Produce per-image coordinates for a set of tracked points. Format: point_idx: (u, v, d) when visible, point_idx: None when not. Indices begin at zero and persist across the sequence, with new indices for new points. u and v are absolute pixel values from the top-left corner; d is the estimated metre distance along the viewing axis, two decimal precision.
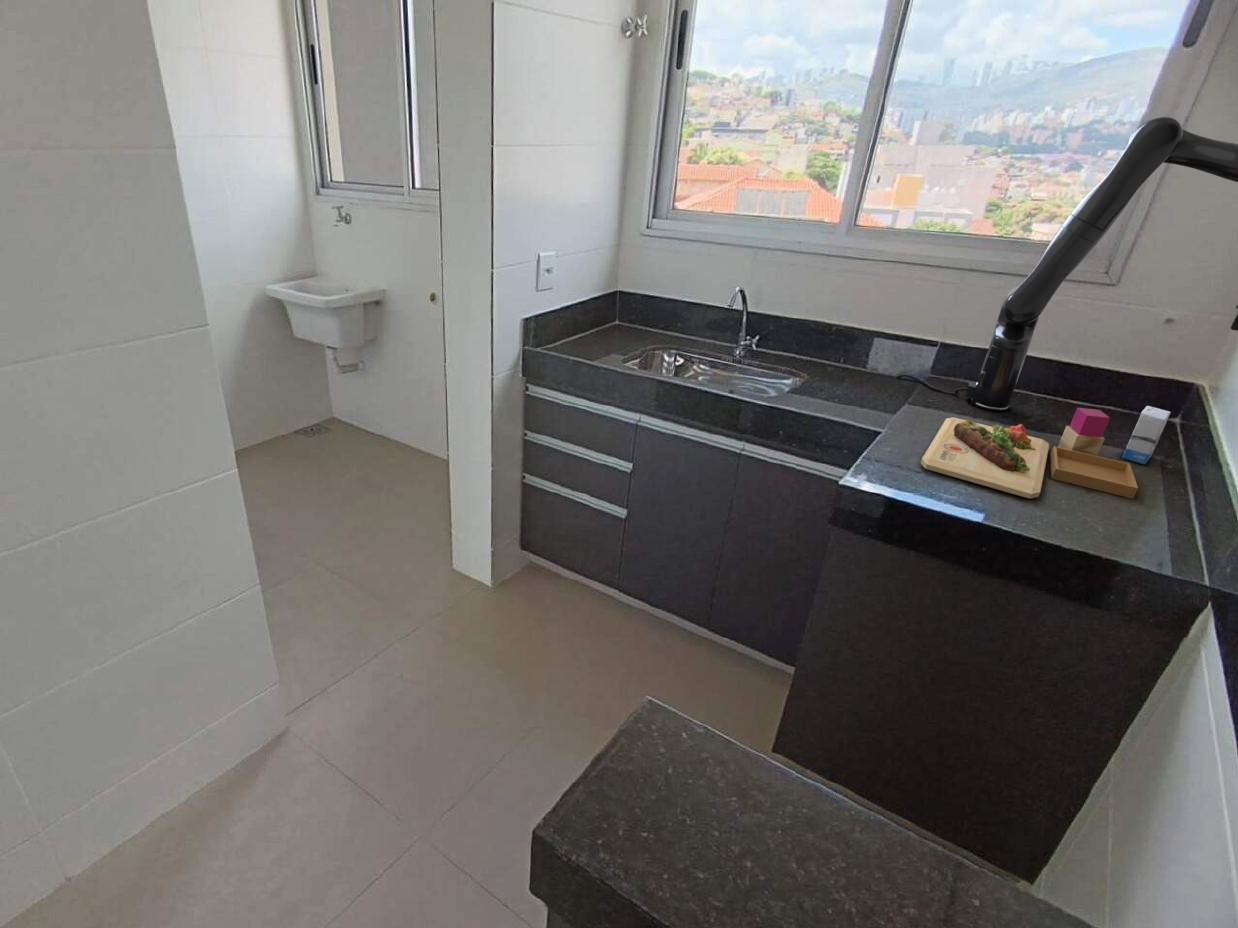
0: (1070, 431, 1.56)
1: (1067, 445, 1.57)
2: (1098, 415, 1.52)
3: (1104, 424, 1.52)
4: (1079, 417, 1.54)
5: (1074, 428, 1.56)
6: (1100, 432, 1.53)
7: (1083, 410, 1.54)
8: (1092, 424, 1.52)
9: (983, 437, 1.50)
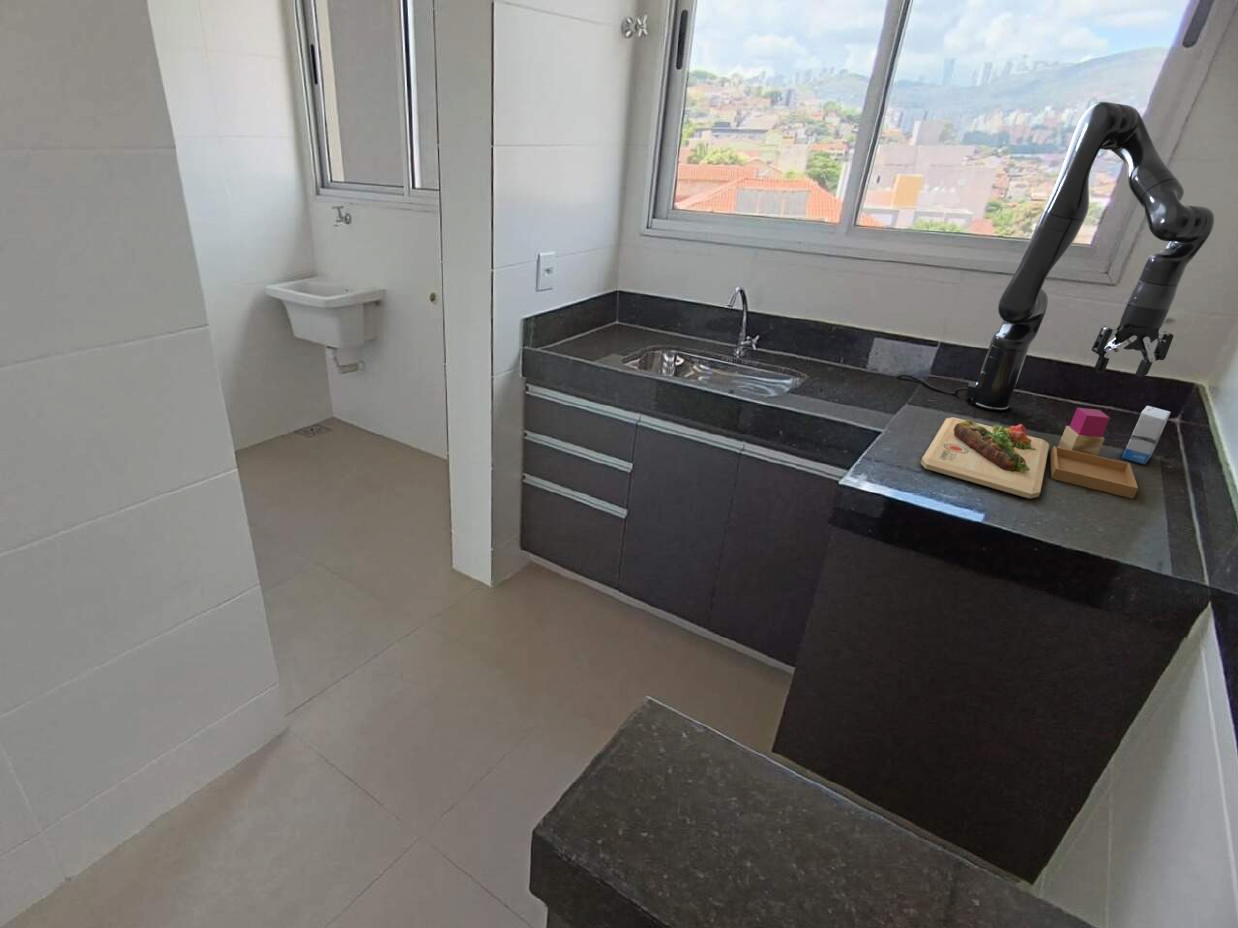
0: (1070, 431, 1.56)
1: (1067, 445, 1.57)
2: (1098, 415, 1.52)
3: (1104, 424, 1.52)
4: (1079, 417, 1.54)
5: (1074, 428, 1.56)
6: (1100, 432, 1.53)
7: (1083, 410, 1.54)
8: (1092, 424, 1.52)
9: (983, 437, 1.50)
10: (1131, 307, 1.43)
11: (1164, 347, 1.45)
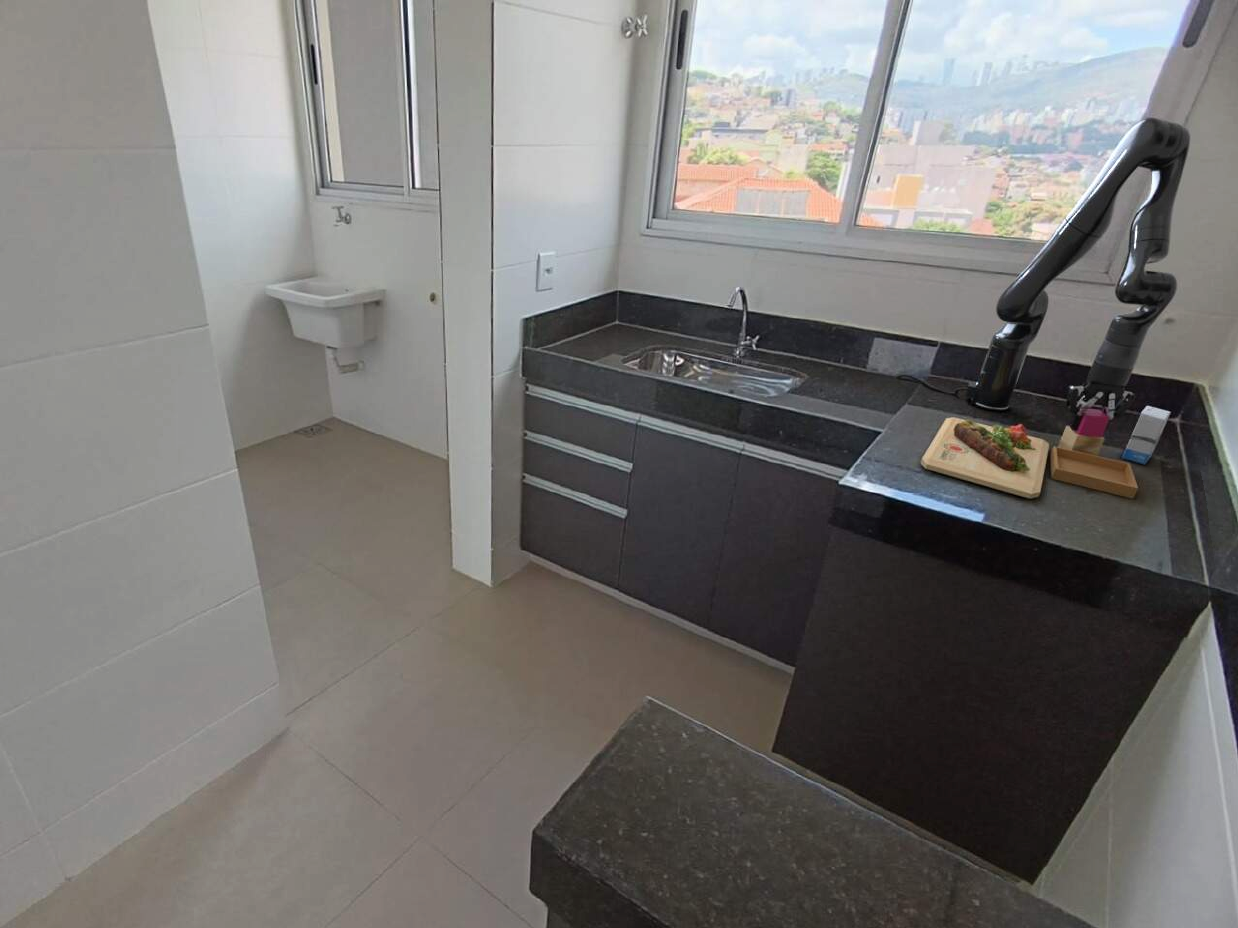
0: (1070, 431, 1.56)
1: (1067, 445, 1.57)
2: (1098, 415, 1.52)
3: (1104, 424, 1.52)
4: None
5: None
6: (1100, 432, 1.53)
7: None
8: (1092, 424, 1.52)
9: (983, 437, 1.50)
10: (1097, 365, 1.48)
11: (1125, 405, 1.50)
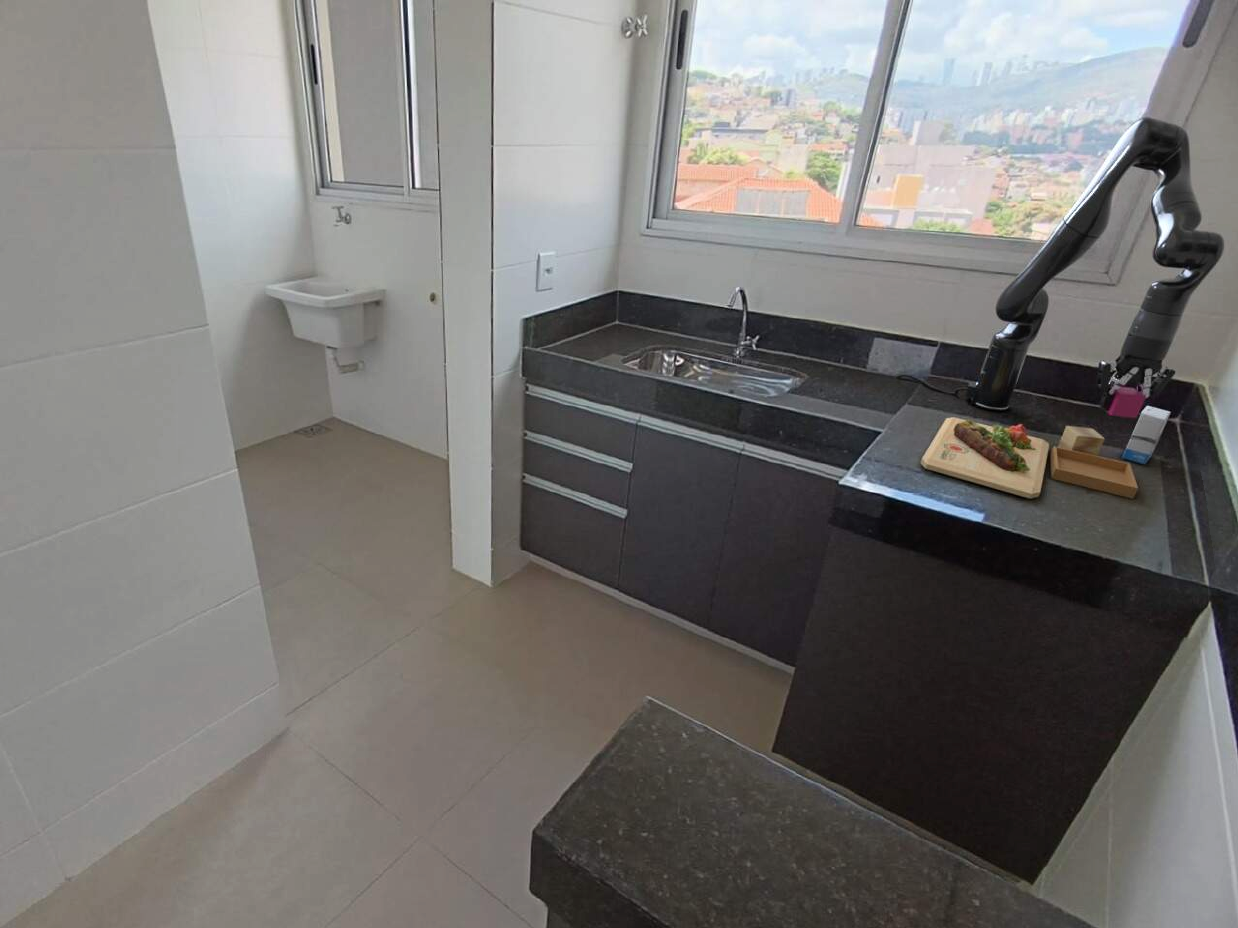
0: (1070, 431, 1.56)
1: (1067, 445, 1.57)
2: (1133, 393, 1.37)
3: (1140, 403, 1.37)
4: None
5: None
6: (1135, 412, 1.38)
7: None
8: (1126, 404, 1.38)
9: (984, 437, 1.50)
10: (1132, 337, 1.33)
11: (1162, 382, 1.36)
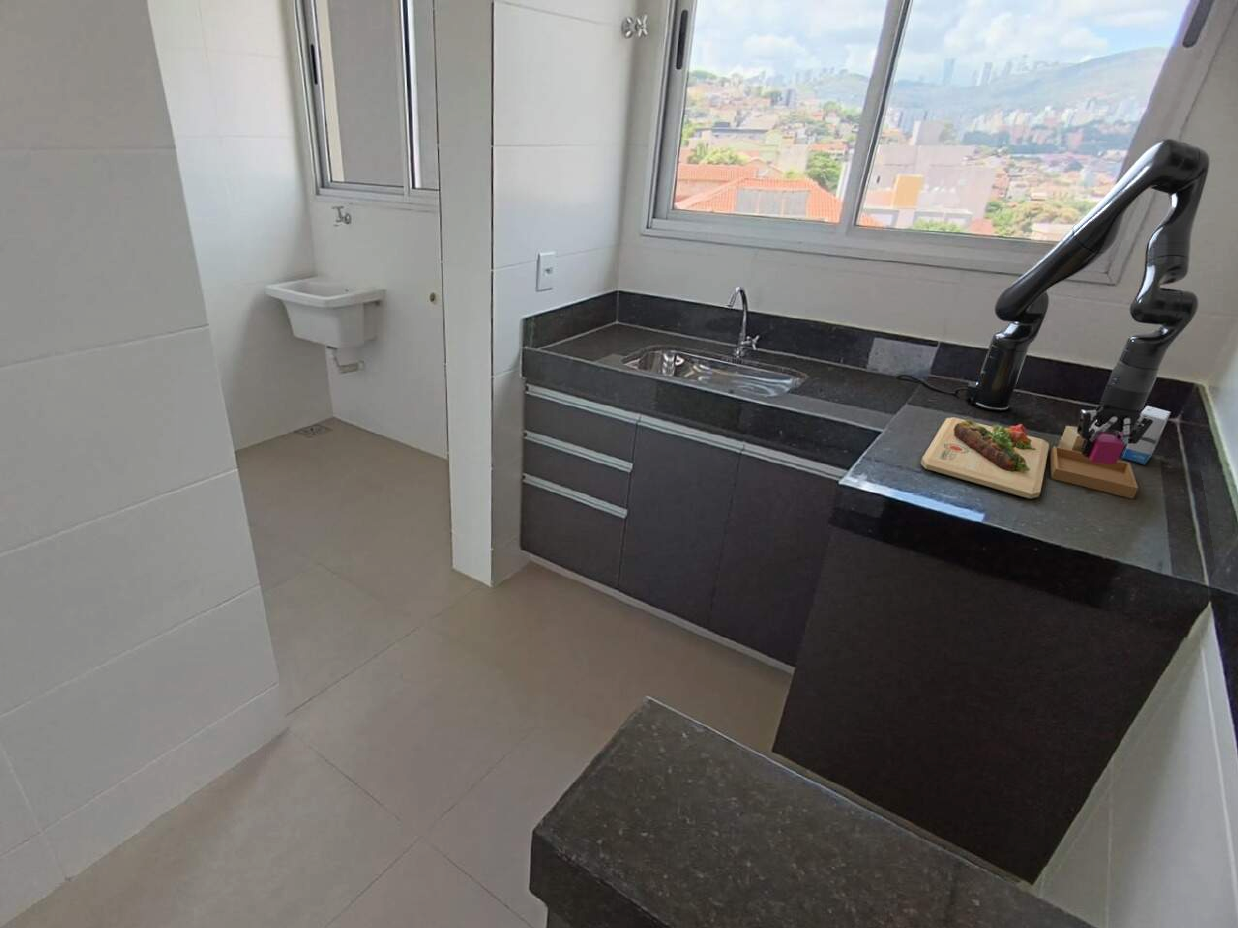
0: (1070, 431, 1.56)
1: (1067, 445, 1.57)
2: (1112, 441, 1.42)
3: (1119, 450, 1.42)
4: None
5: None
6: (1114, 459, 1.43)
7: None
8: (1106, 451, 1.43)
9: (983, 437, 1.50)
10: (1111, 388, 1.38)
11: (1140, 431, 1.41)
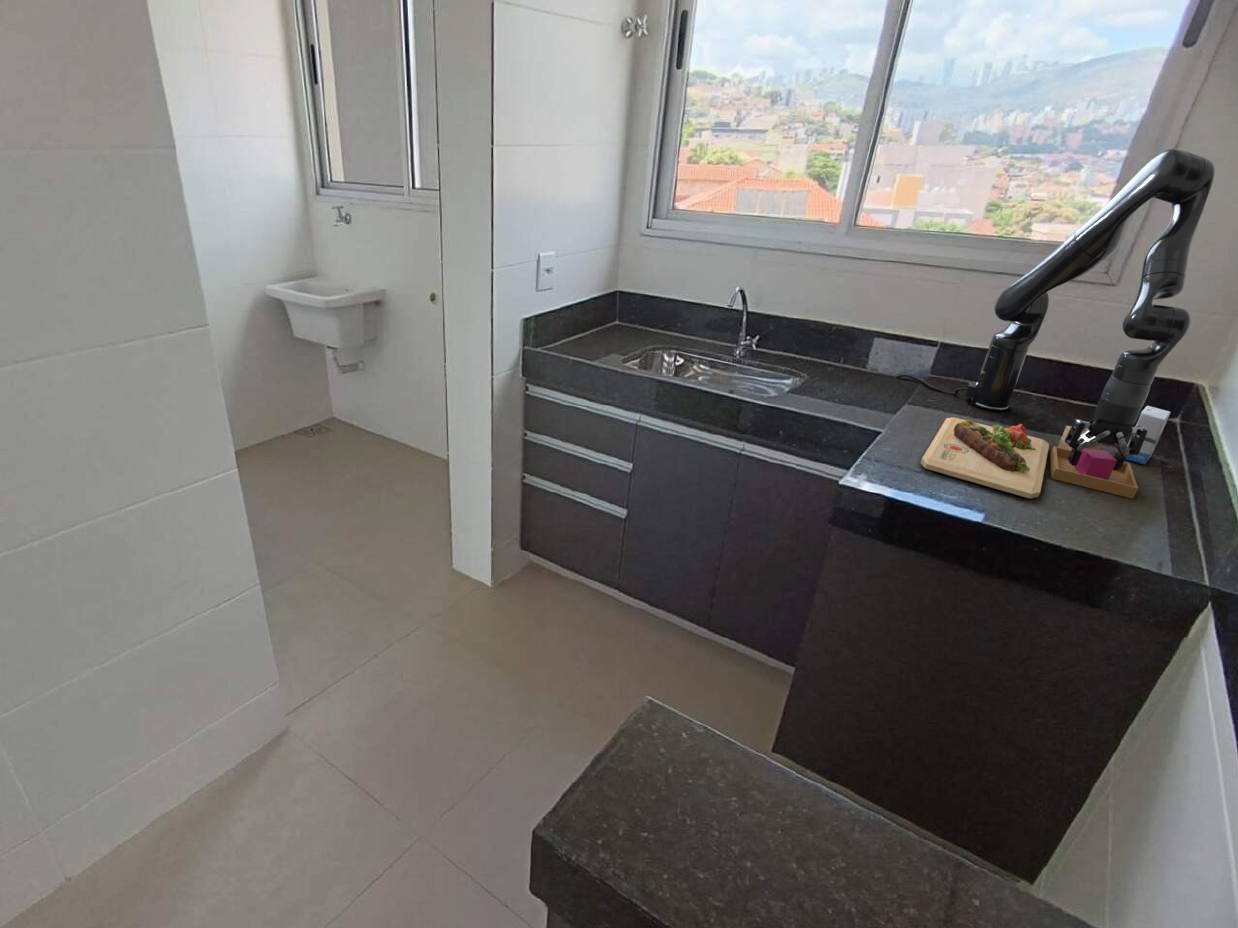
0: None
1: (1067, 445, 1.57)
2: (1104, 457, 1.44)
3: (1111, 466, 1.44)
4: (1084, 458, 1.47)
5: (1079, 470, 1.48)
6: (1107, 475, 1.45)
7: (1088, 451, 1.46)
8: (1098, 467, 1.44)
9: (984, 437, 1.50)
10: (1104, 402, 1.40)
11: (1138, 442, 1.42)
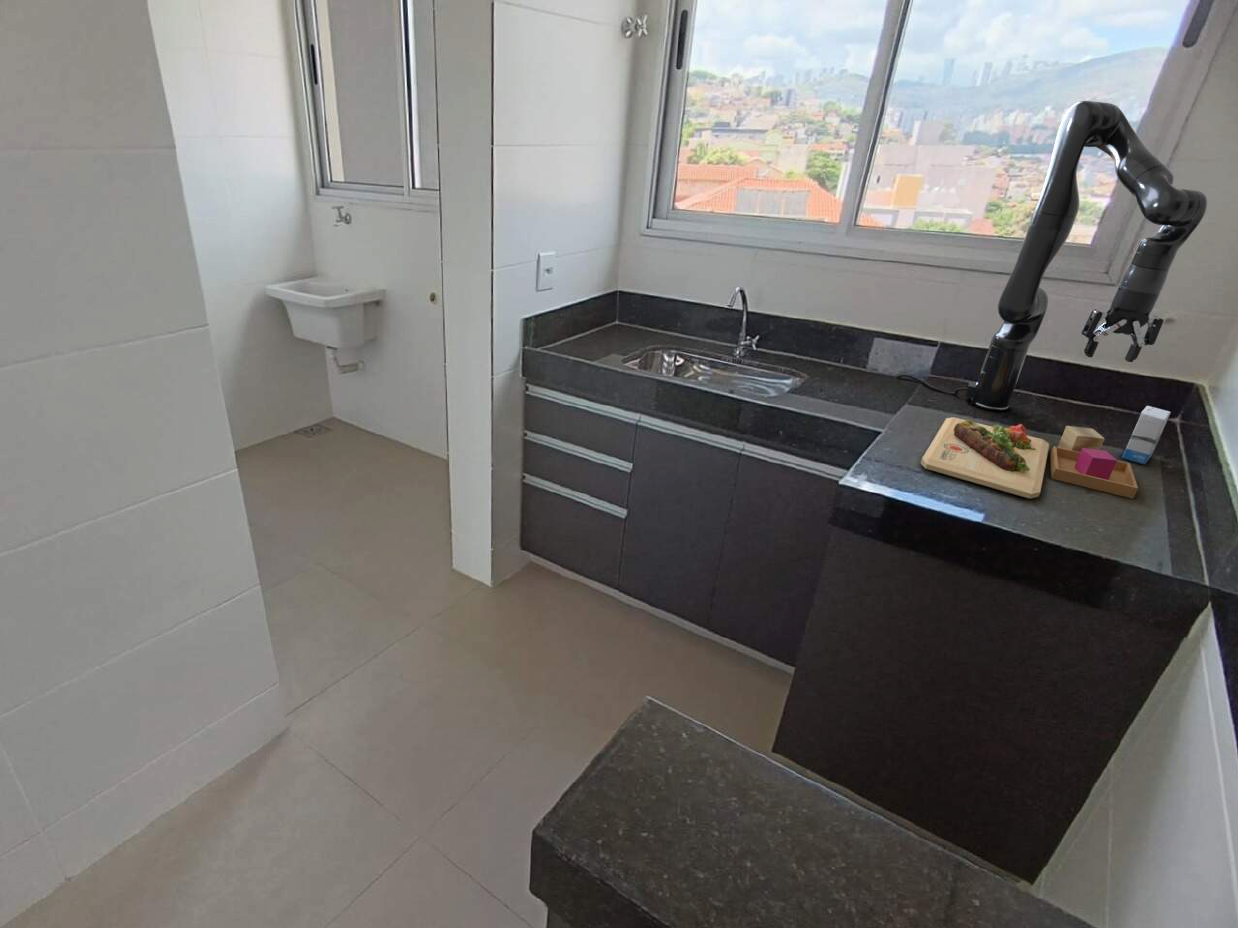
0: (1070, 431, 1.56)
1: (1067, 445, 1.57)
2: (1104, 457, 1.44)
3: (1111, 466, 1.44)
4: (1084, 458, 1.47)
5: (1079, 470, 1.48)
6: (1107, 475, 1.45)
7: (1088, 451, 1.46)
8: (1098, 467, 1.44)
9: (984, 437, 1.50)
10: (1122, 291, 1.43)
11: (1154, 331, 1.45)
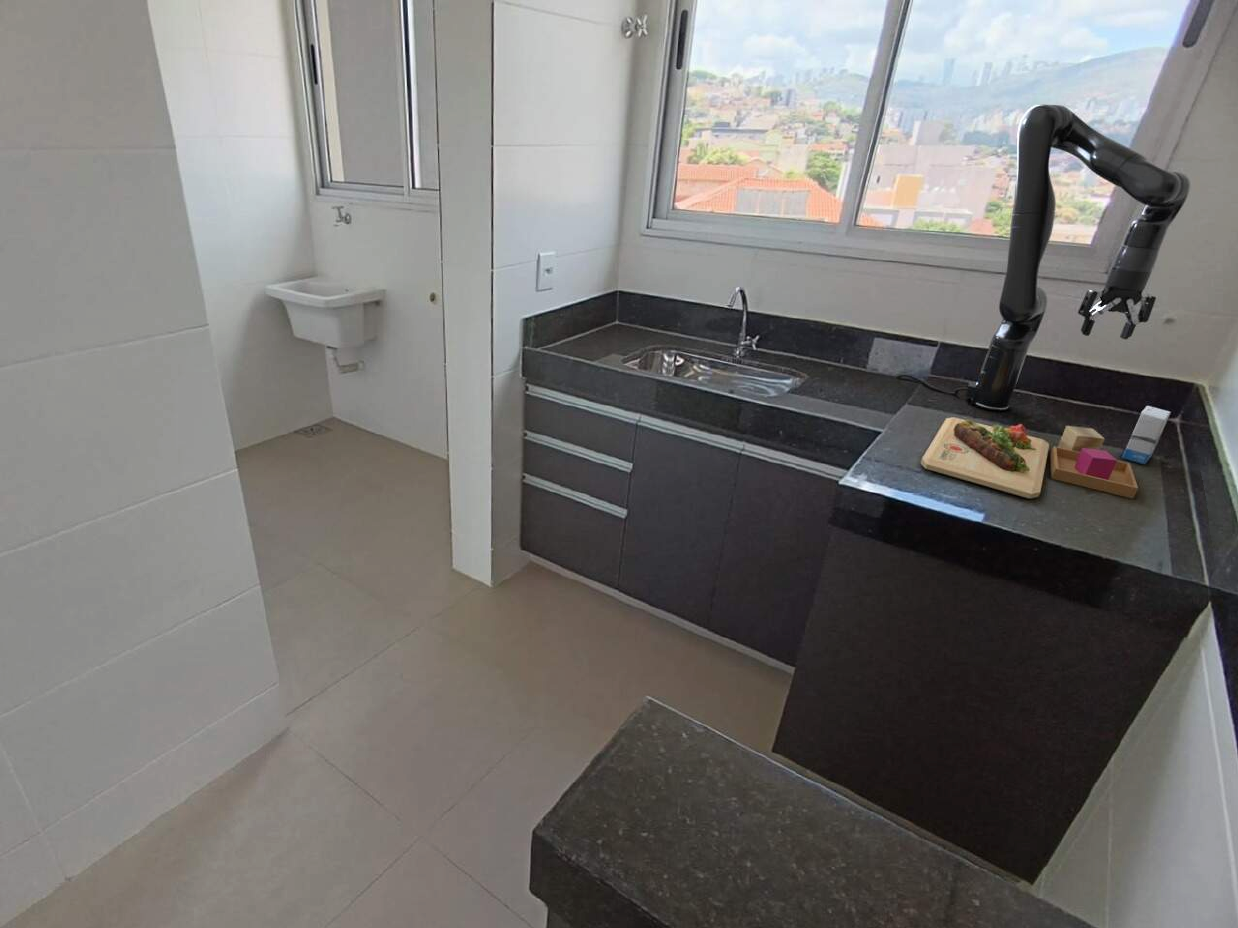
0: (1070, 431, 1.56)
1: (1067, 445, 1.57)
2: (1104, 457, 1.44)
3: (1111, 466, 1.44)
4: (1084, 458, 1.47)
5: (1079, 470, 1.48)
6: (1107, 475, 1.45)
7: (1088, 451, 1.46)
8: (1098, 467, 1.44)
9: (983, 437, 1.50)
10: (1115, 270, 1.50)
11: (1147, 309, 1.52)
